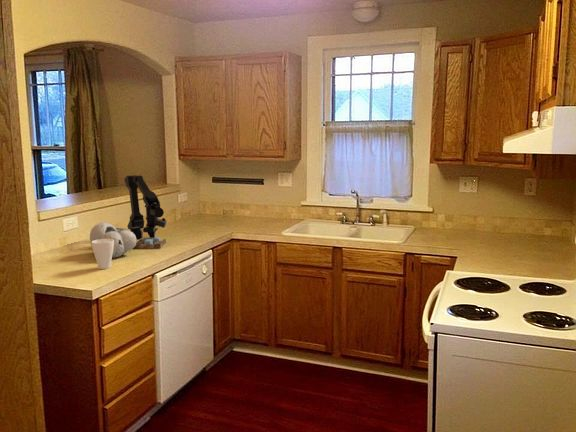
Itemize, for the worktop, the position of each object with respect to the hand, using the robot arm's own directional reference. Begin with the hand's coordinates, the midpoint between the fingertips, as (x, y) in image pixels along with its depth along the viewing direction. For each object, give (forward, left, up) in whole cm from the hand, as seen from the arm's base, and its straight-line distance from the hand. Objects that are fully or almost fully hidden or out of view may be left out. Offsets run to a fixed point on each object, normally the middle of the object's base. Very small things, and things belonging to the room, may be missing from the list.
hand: (152, 240), depth 315 cm
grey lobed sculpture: (-15, -28, -2) cm, 32 cm away
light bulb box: (-19, -7, -2) cm, 21 cm away
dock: (0, -7, -2) cm, 7 cm away
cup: (-10, -55, -2) cm, 56 cm away
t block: (0, -7, -2) cm, 7 cm away
